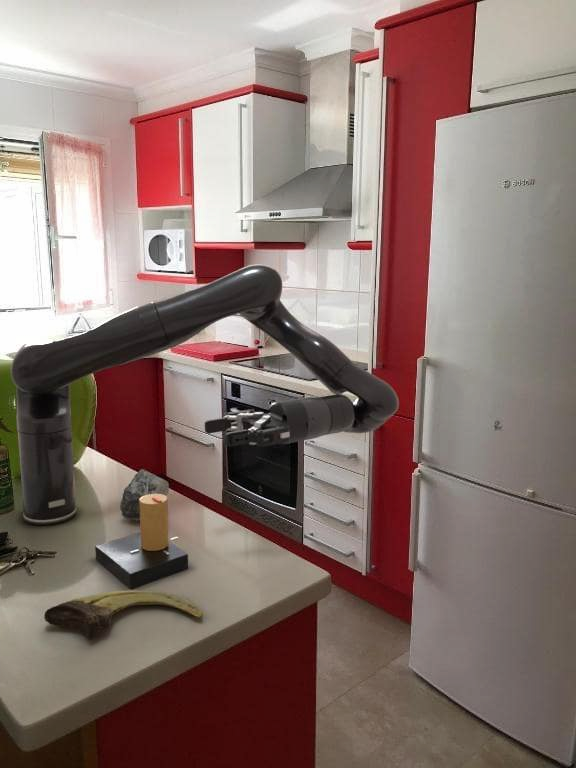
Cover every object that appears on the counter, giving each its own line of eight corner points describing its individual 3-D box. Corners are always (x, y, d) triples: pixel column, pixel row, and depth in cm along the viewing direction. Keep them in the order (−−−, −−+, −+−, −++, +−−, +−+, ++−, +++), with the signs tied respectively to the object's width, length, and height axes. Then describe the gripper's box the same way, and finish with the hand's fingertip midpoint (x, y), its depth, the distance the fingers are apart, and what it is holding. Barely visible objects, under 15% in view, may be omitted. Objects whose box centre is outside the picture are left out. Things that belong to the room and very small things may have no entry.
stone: (128, 459, 121) (156, 472, 114) (164, 482, 127) (192, 495, 120) (100, 504, 118) (127, 519, 111) (138, 525, 124) (166, 541, 117)
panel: (95, 559, 103) (95, 544, 102) (159, 539, 110) (159, 525, 110) (130, 589, 94) (130, 573, 93) (197, 565, 101) (197, 549, 101)
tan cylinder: (136, 544, 103) (134, 496, 101) (159, 536, 106) (158, 489, 104) (149, 553, 100) (147, 504, 98) (173, 545, 102) (172, 497, 101)
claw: (49, 652, 79) (48, 628, 78) (46, 611, 88) (45, 588, 87) (203, 623, 86) (203, 600, 85) (185, 587, 95) (185, 566, 95)
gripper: (279, 391, 117) (198, 402, 109) (321, 407, 105) (233, 421, 97) (279, 430, 119) (199, 444, 111) (321, 450, 107) (234, 467, 99)
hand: (215, 433), depth 104 cm, fingers open, 8 cm apart
